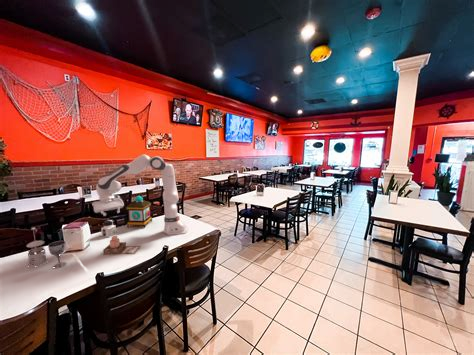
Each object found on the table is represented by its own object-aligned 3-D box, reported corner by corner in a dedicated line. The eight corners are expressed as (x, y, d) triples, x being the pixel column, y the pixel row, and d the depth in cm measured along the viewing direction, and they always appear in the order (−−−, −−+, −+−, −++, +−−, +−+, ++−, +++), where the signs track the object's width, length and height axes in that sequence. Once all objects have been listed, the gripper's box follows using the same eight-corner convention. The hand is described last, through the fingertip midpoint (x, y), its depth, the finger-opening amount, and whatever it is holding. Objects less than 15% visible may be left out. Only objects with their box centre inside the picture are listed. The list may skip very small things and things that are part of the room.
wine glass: (48, 270, 118) (45, 247, 116) (53, 263, 125) (51, 242, 123) (65, 266, 122) (62, 245, 120) (69, 260, 129) (66, 239, 127)
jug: (109, 250, 141) (108, 237, 139) (118, 247, 146) (117, 234, 144) (113, 254, 136) (112, 240, 135) (122, 250, 141) (121, 237, 139)
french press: (29, 269, 118) (23, 232, 115) (24, 263, 124) (19, 227, 121) (50, 262, 127) (46, 226, 123) (45, 256, 133) (40, 222, 129)
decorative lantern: (124, 228, 182) (122, 198, 177) (135, 220, 201) (133, 193, 197) (145, 228, 182) (144, 198, 177) (154, 221, 202) (153, 193, 197)
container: (109, 237, 163) (108, 222, 161) (101, 236, 165) (100, 222, 163) (116, 233, 171) (115, 219, 169) (109, 232, 172) (108, 218, 170)
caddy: (141, 247, 149) (141, 241, 148) (134, 255, 137) (134, 249, 136) (112, 247, 147) (112, 241, 146) (102, 256, 135) (102, 250, 135)
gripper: (92, 199, 144) (97, 215, 139) (121, 195, 160) (126, 209, 155) (90, 204, 147) (95, 219, 142) (119, 199, 163) (124, 213, 159)
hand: (112, 214), depth 149 cm, fingers open, 8 cm apart
